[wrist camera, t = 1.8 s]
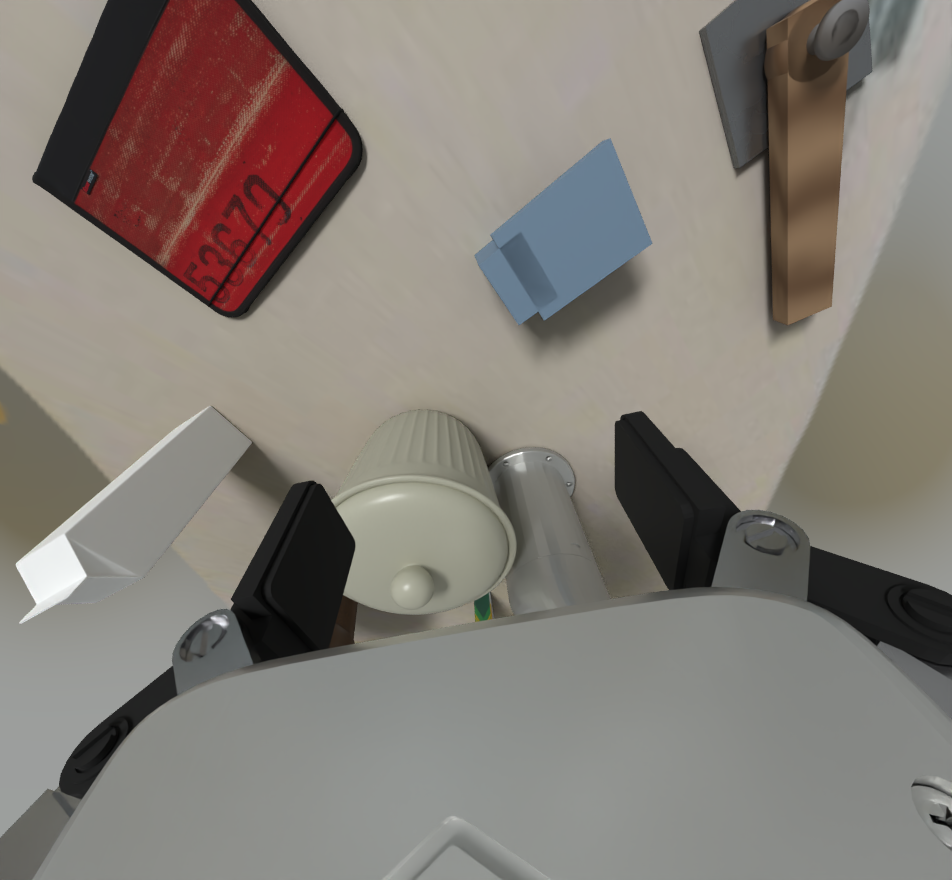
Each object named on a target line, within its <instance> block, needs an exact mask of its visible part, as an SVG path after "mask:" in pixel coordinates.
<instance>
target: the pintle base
mask: <svg viewBox="0 0 952 880" xmlns="http://www.w3.org/2000/svg"><path fill="white" fill-rule="evenodd" d="M808 1H810V0H735V1H734V2H732V3H731V4H730V5H729V6H728V7H727V8H726V9H724V10H723V11H722V12H721V13H720V14H719V15H717V16H716V17H715V18H714V19H713V20H712V21H710V22H709V23H708V24H707V25H706V26H705V27H703V28H702V29H701V30H700V31H699V32H700V36H701V40H702V44H703V48H704V52H705V56H706V60H707V64H708V68H709V72H710V76H711V80H712V84H713V87H714V91H715V95H716V99H717V103H718V107H719V111H720V115H721V119H722V123H723V127H724V131H725V135H726V139H727V143H728V146H729V150H730V154H731V158H732V162H733V166H734V168H740V167H742V166H743V165H744V164H746V163H747V162H748V161H750V160H751V159H753V158H754V157H755V156H757V155H758V154H759V153H761V152H762V151H764V150H765V149H766V148H768V147H769V121H768V80H767V78H766V75H765V68H764V61H765V55H766V50H767V34H766V29H768V28H770V27H771V26H773V25H775V24H776V23H778V22H780V21H781V20H783V19H784V18H785V17H786V16H787V15H788V14H789V13H790V12H791V11H792V10H794V9H795V8H797V7H799V6H801V5H803V4H804V3H806V2H808ZM867 1H868V0H867ZM871 72H872V57H871V42H870V27H869V19H868V23H867V26H866V28H865V31H864V33H863V35H862V36H861V38H860V40H859V41H858V42H857V44H856V45H855V46H854V47H853V48H852V49H851V50H850V51H849V59H848V73H847V88H846V90H848V89H849V88H850V87H852V86H853V85H855V84H856V83H857V82H859V81H860V80H861V79H863V78H864V77H866V76H867V75H868V74H870V73H871Z"/></svg>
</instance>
